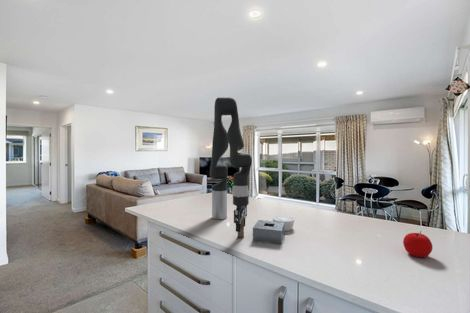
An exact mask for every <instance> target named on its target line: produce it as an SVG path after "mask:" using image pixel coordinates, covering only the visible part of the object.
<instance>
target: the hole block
mask: <svg viewBox="0 0 470 313" xmlns="http://www.w3.org/2000/svg"><path fill="white" fill-rule="evenodd" d="M284 237H285V231H284V222H275V221H273V220H264V219H263V220H262V219H257V221H256V223H255V224H254V225H253V227H252V241H253V242H261V243H266V244H267V243H268V244H269V243H270V244H278V245H282V243H283V240H284Z"/></svg>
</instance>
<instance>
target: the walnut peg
mask: <svg viewBox="0 0 470 313" xmlns="http://www.w3.org/2000/svg"><path fill="white" fill-rule="evenodd" d="M244 229H245V227H244V216H243V219H241V231H240V232H237V238H238V239H244V237H245V230H244Z"/></svg>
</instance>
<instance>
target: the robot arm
mask: <svg viewBox="0 0 470 313" xmlns="http://www.w3.org/2000/svg"><path fill="white" fill-rule="evenodd" d="M238 110H239V109H238V105H237V101H236V99H235V98H234V97H217V98H216V99H215V101H214V117H213V118H214V120H213V121H214V122H213V123H214V124H213V135H212V147H211V148H212V149H211V160H210V166H209V177H210V179H211V180H220V181H219V182H218V183H215V184H212V186H211V210H212V211H211V218H212V219H214V220H224V219H225V220H226V219H227V218H228V174H229V172H228V171H229V170H228V165H227V164H225V163H223V164H221V163H220V164H219V160H220V159H221V157H223V155H224V154H225V153H226V152H227V150H228V148H229V164H230V165H231V167H232V168H235V169H237V168H240V171H238V172H235V173H234V174H233V175H232V176H233V182H232V184H233V187H232V205H233V206H236V208H235V209H234V210H233V224H235V233H238V232H240V231H241V219H243V216H244V228H245V227H246V219H247V217H248V216H247V215H248V213H247V212H248V205H249V203H250V202H249V200H250V198H249V196H250V195H249V192H250V191H249V175H250V171H251V167H252V162H253V158H252V156H251V154H250V153H248V152H239V151H241V150H243V149H244V147H245V143H244V140H243V136H242V132H241V128H240V121H239V120H240V118H239V111H238ZM223 116H230V117H231V118H230V119H231V122H230V125H229V127H228V130H227V129H226V128H225V126H224V124H223V120H222V117H223Z"/></svg>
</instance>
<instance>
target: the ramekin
mask: <svg viewBox="0 0 470 313" xmlns="http://www.w3.org/2000/svg"><path fill="white" fill-rule="evenodd" d="M272 221H275V222H284V232H288V231H291V230H293V228H294V224H295V223H294V222H295V218H293V217H291V216H288V215H287V216H286V215H277V216H274V217H273V218H272Z"/></svg>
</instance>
